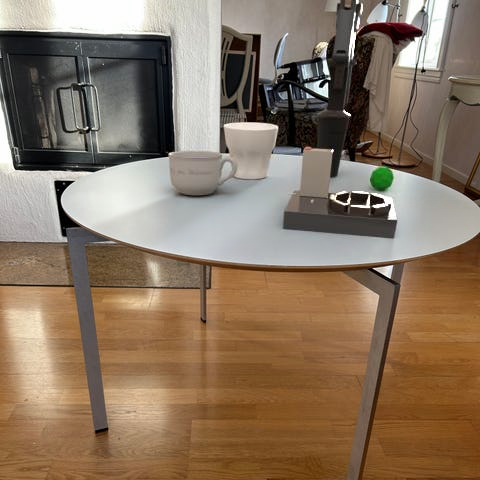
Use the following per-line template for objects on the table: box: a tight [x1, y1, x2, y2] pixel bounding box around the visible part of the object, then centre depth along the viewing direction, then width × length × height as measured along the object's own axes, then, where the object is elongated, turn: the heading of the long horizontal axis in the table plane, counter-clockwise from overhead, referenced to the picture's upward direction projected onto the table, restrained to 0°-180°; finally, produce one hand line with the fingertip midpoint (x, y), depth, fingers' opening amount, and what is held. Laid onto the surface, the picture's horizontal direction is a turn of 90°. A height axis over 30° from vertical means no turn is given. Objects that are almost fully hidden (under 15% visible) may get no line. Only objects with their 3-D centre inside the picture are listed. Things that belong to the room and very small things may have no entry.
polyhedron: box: [369, 165, 395, 191], centre depth 104 cm, size 5×5×5 cm
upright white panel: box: [299, 146, 333, 198], centre depth 85 cm, size 5×2×8 cm, turn 78°
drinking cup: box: [316, 108, 352, 178], centre depth 111 cm, size 8×8×20 cm
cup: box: [223, 121, 279, 180], centre depth 111 cm, size 12×12×11 cm
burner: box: [329, 190, 391, 217], centre depth 81 cm, size 10×10×2 cm
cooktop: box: [282, 190, 398, 239], centre depth 85 cm, size 19×16×3 cm
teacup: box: [167, 150, 238, 196], centre depth 97 cm, size 14×11×8 cm
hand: (337, 107), depth 86 cm, fingers open, 13 cm apart
